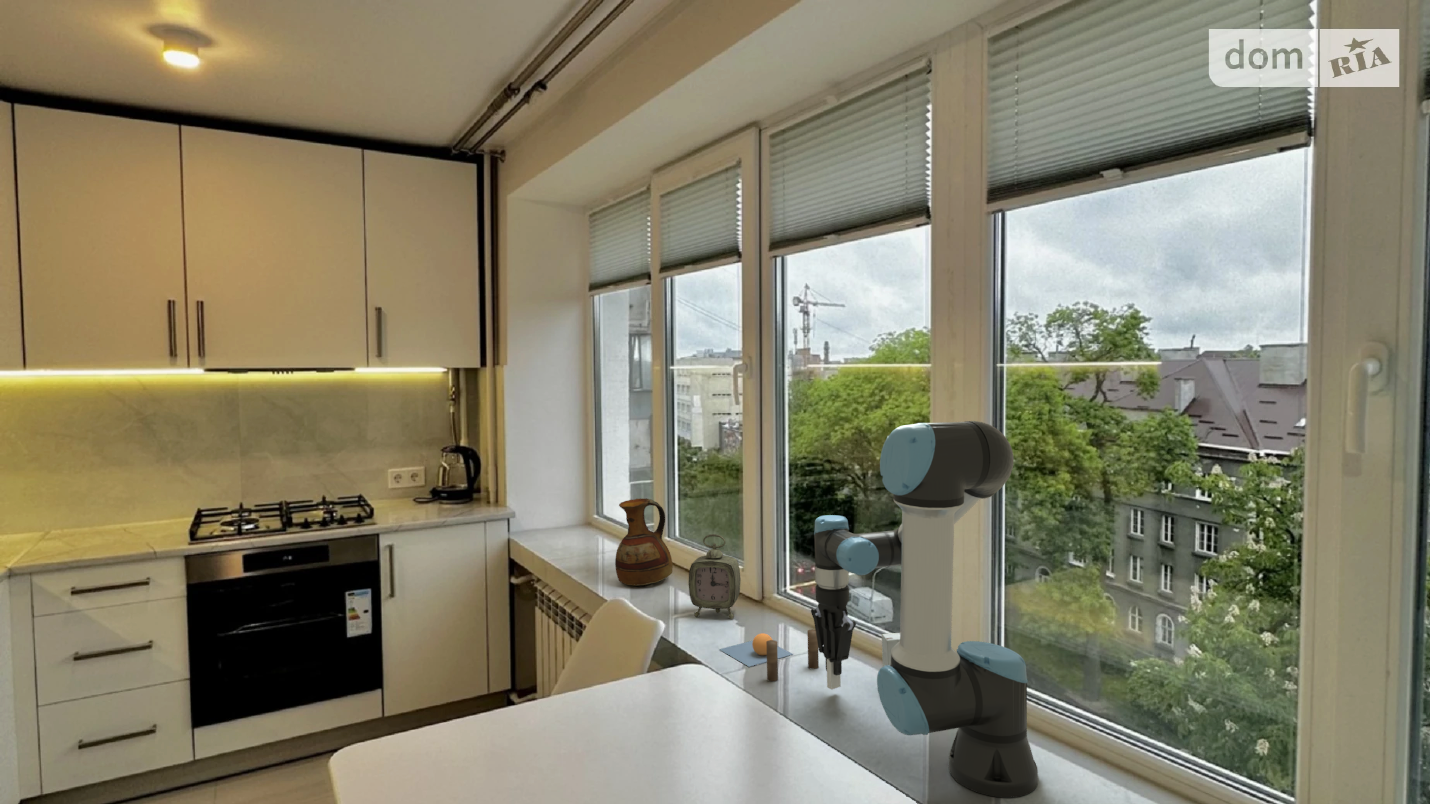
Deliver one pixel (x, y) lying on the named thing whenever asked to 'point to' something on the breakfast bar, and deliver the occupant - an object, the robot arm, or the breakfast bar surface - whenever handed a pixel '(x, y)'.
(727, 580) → the tabletop clock
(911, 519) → the robot arm
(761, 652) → the ball
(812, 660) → the right post
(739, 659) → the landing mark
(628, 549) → the ceramic pitcher
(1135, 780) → the breakfast bar surface
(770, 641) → the left post
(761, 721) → the breakfast bar surface
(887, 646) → the skincare box
